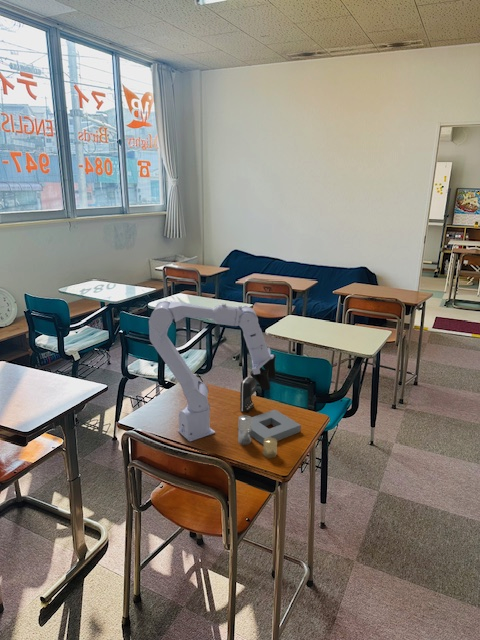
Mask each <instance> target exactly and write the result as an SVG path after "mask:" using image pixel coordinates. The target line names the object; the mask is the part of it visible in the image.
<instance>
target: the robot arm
mask: <svg viewBox="0 0 480 640" xmlns="http://www.w3.org/2000/svg"><path fill="white" fill-rule="evenodd" d="M184 318H192V319H203V320H204V319H206V320H212V321H213V322H214V324H215V325H223V326H224V325H225V326H231V327H238V326H239V327H240V328H241V330H242V332H243V338H244V341H245V344H246V347H247V350H248V352H249V355H250V358H251V364H252V365H251V366H252V368H251V371H250V373H249V374H250V376H251V378H254V379H255V380H256V383H258V385H259V387H261V388H262V389H261V390H263V391H264V392H266V391H270V390H271V384H270V379H276V378H277V375H276V356H277V355H276V353H273V354H271V353H272V351H271V348H270V347H268V345H267V342H266V340H265V335H264V334H263V331H262V328H261V327H260V324H259V318H258V315H257V313H256V311H255V309H254V308H253V307H250V306H247V305H245V306H244V305H243V306H241V305H238V306H237V307H236V306H229V305H227V304H226V303H221V305H220V304H217V305H216V306H214V307H207V306H203V305H202V306H201V305H196V304H190V303H186V302H185V303H184V302H179V301H167V300H162V301H159V302H158V303H157V304H156V305H155V308H154V310H153V311H152V312H151V314H150V317H149V319H148V329H149V330H148V331H149V332H148V333H149V335H148V336H149V342H150V343H151V344H152V346H153V347H154V349H155V350H156V352H157V353H158V354H159V356H160V357H161V359H162V360H163V362H164V363H165V364H166V366H167V367H168V369H169V370H170V372H171V373H172V375H173V376H174V377H175V379H176V380H177V382H178V384H179V385H180V387H181V389H182V392H183V396H184V397H185V400H186V402H187V403H186V406H185V408H184V409H181V410H180V411H179V413H178V430H177V432H179V434H181V435H182V436H183V437H184V438H185V439H186V440H187V441H188V442H193V441H196V440H198V439H201V438H205V437H207V436H211V435H214V434H215V433H216V431H215V430H214V429H212V427H210V426H211V425H210V424H211V420H210V418H211V417H210V415H211V414H210V402H209V401H208V400H209V399H208V397H209V388H208V387H209V386H208V385H207V384H205V383H204V382H203V381H201V380H200V378H199V377H198V376H196V375H195V374H194V373H193V372H192V370H191V368H190V366H189V365H188V364H187V363H186V361H185V360H184V358H183V357H182V356H181V354H180V352H179V351H178V349H177V348H176V346H175V345H174V343H173V342H172V341H171V339H170V338H169V336H168V332H169V328H170V326H171V324H172V323H173V320H174V322H175V323H177V322H179V321H181V320H182V319H184Z"/></svg>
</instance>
